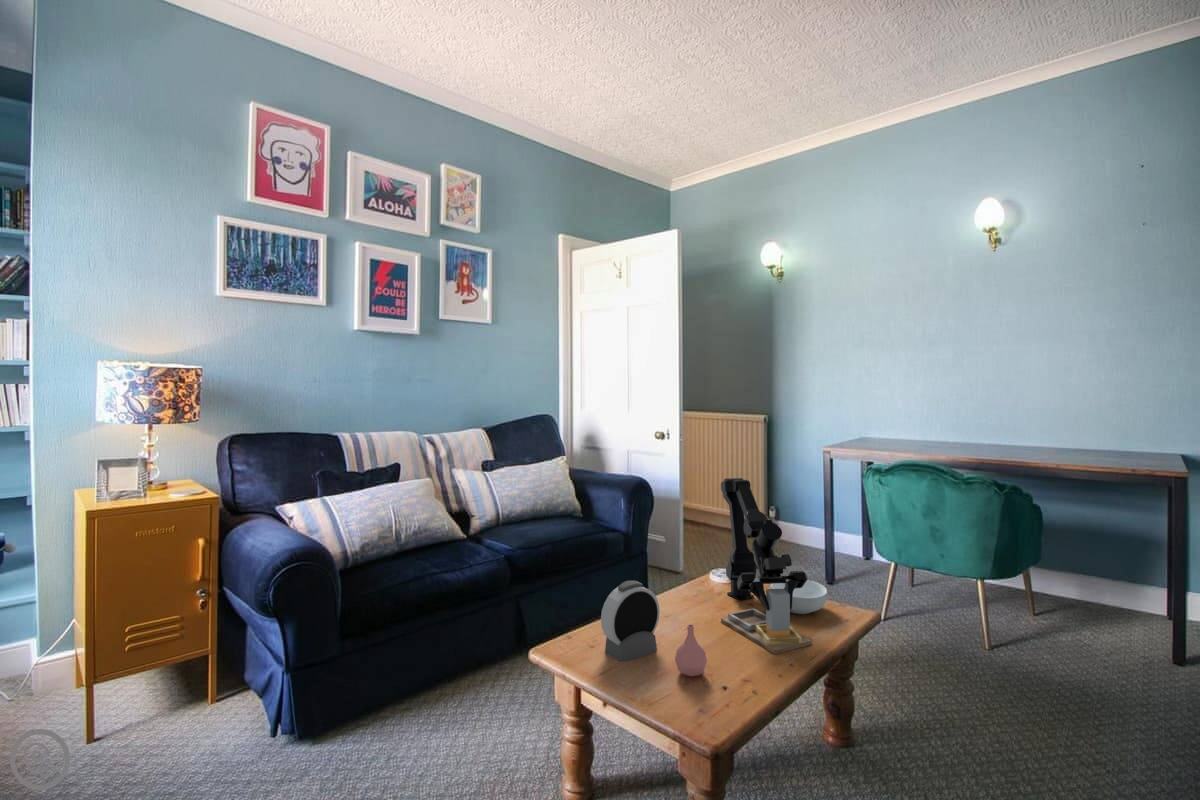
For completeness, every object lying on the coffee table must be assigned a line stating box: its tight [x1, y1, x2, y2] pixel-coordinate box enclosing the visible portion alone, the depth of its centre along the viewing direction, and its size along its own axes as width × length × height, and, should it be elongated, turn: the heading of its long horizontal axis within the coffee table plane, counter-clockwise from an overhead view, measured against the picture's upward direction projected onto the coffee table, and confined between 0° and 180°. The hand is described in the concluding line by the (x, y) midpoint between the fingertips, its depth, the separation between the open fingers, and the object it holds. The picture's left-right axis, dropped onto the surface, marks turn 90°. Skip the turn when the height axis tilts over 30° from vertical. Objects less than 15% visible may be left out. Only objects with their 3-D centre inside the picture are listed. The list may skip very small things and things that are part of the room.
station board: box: [720, 607, 813, 655], centre depth 166 cm, size 23×13×2 cm, turn 25°
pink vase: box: [674, 624, 708, 677], centre depth 143 cm, size 8×8×12 cm
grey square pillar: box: [765, 588, 791, 638], centre depth 161 cm, size 4×5×12 cm
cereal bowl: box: [770, 579, 828, 615], centre depth 182 cm, size 17×17×7 cm
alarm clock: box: [600, 580, 661, 662], centre depth 156 cm, size 16×10×18 cm, turn 123°
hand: (779, 609), depth 159 cm, fingers open, 6 cm apart
